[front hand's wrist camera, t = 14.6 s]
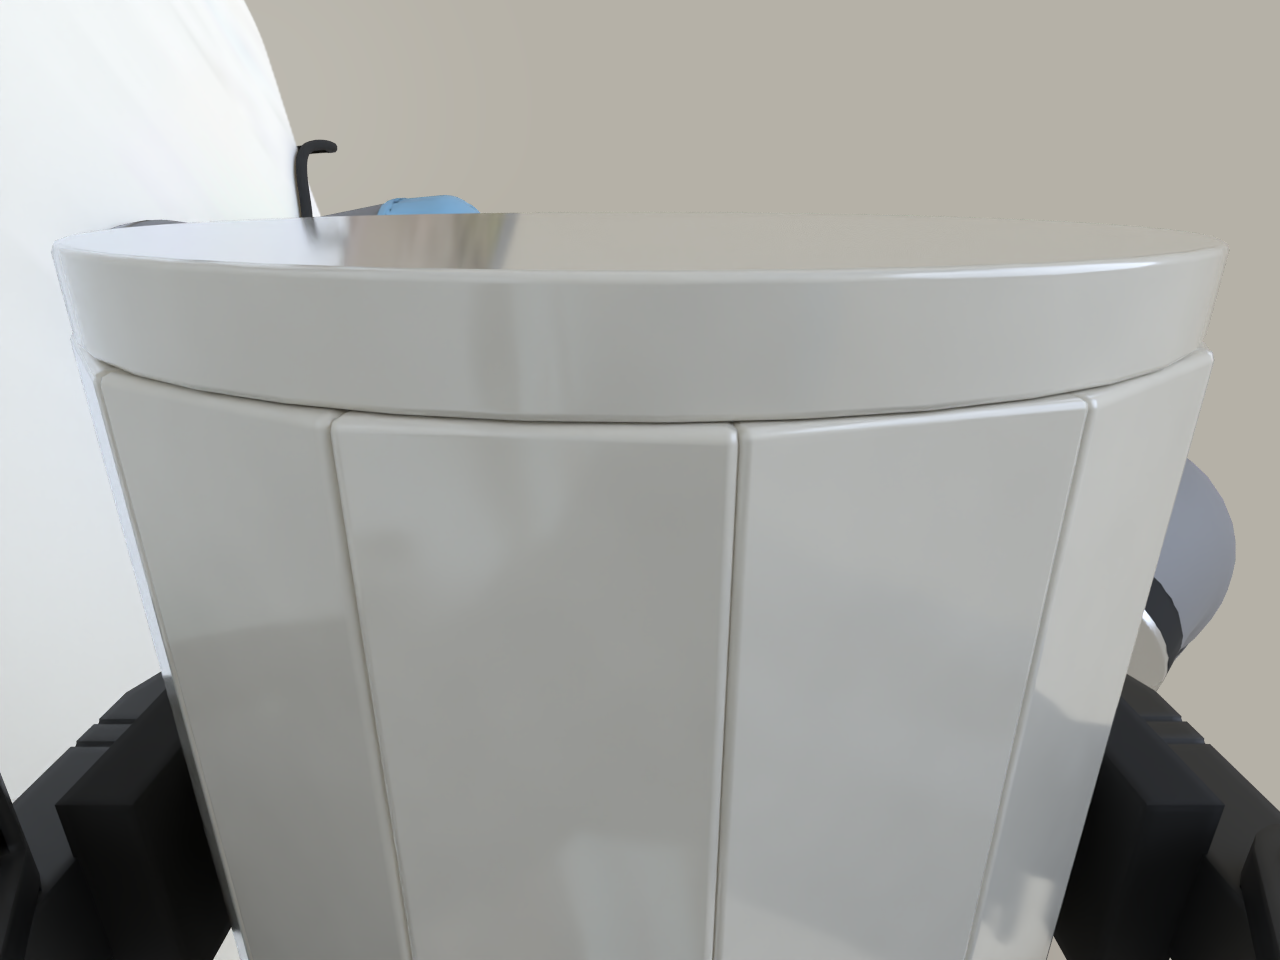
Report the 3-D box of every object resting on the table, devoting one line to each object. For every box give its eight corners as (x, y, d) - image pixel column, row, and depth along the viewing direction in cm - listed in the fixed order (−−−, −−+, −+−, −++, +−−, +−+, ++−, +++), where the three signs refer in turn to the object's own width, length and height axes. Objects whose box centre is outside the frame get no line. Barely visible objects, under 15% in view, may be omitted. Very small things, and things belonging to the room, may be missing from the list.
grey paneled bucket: (824, 210, 13) (784, 691, 17) (218, 214, 11) (326, 780, 14) (1627, 245, 5) (1185, 1217, 8) (-591, 314, 2) (208, 1681, 6)
